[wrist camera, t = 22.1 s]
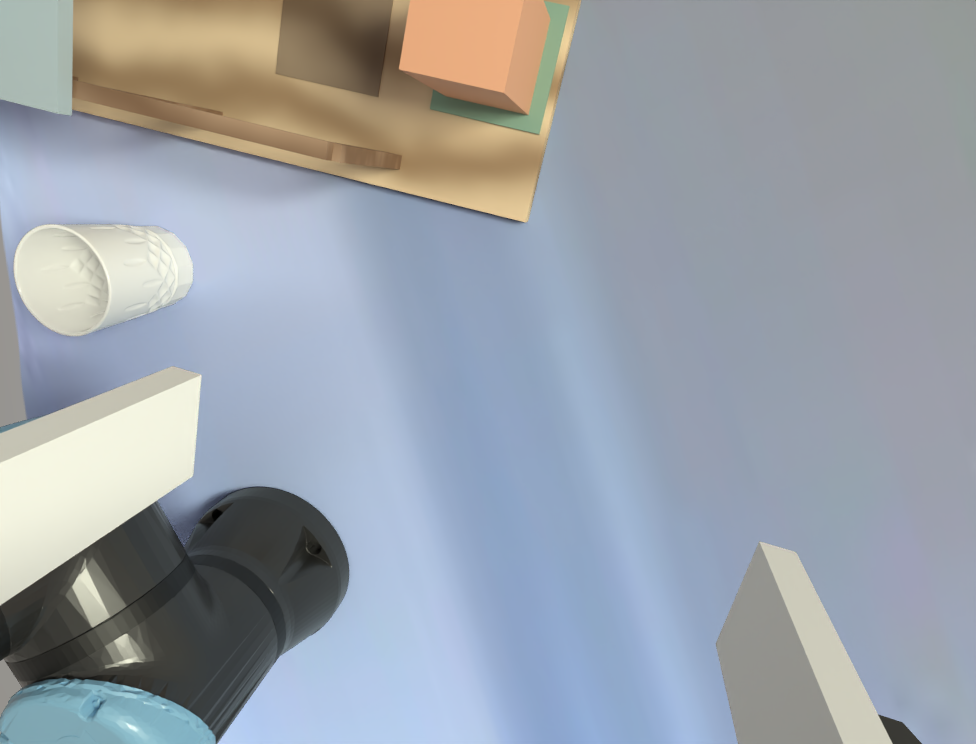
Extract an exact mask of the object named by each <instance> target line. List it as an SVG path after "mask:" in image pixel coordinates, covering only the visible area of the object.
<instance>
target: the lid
mask: <svg viewBox="0 0 976 744" xmlns="http://www.w3.org/2000/svg"><path fill="white" fill-rule="evenodd" d="M72 61H73V0H0V99H1V100H5V101H9V102H13V103H17V104H21V105H25V106H29V107H33V108H37V109H41V110H45V111H49V112H53V113H57V114H64V115H71V116H72Z"/></svg>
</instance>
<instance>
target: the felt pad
mask: <svg viewBox="0 0 976 744" xmlns="http://www.w3.org/2000/svg"><path fill="white" fill-rule="evenodd" d="M544 3H545V6H546V8H547V11H548V14H549V16H550V23H549V28H548V32H547V37H546V41H545V45H544V50H543V54H542V58H541V63H540V67H539V71H538V76H537V80H536V85H535V89H534V93H533V98H532V102H531V106H530V111H529V115H526V114H521V113H517V112H512V111H508V110H504V109H499V108H495V107H490V106H486V105H482V104H477V103H473V102H468V101H464V100H460V99H455V98H451V97H446V96H444V95H443V94H441V93H439V92H437V91H436V90H434V89H433V93H432V99H431V104H430V109H431V110H435V111H440V112H444V113H448V114H453V115H457V116H461V117H466V118H470V119H474V120H478V121H483V122H487V123H491V124H496V125H500V126H504V127H509V128H513V129H517V130H522V131H526V132H530V133H535V134H540V130H541V126H542V122H543V118H544V113H545V109H546V105H547V101H548V96H549V92H550V88H551V84H552V79H553V75H554V71H555V67H556V63H557V58H558V54H559V50H560V46H561V41H562V37H563V33H564V29H565V25H566V20H567V16H568V12H569V8H570V7H569V6H567V5H562V4H557V3H552V2H548V1H544Z"/></svg>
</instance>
